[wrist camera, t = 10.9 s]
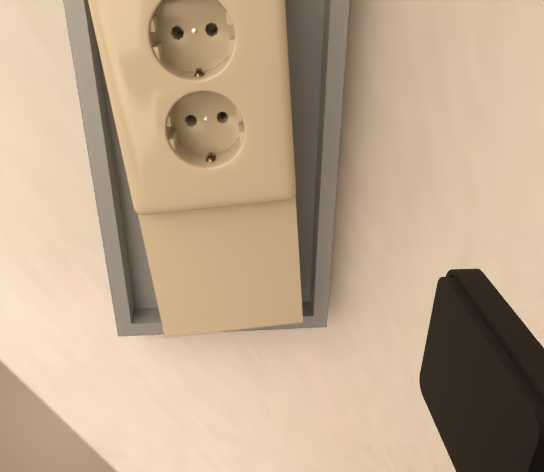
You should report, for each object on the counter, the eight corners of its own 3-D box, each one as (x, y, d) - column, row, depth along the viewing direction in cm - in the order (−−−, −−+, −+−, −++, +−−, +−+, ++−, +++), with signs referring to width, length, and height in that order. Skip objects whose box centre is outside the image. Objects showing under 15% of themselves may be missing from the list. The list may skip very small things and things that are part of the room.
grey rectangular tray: (51, -167, 20) (33, -181, 18) (348, -159, 21) (361, -172, 19) (124, 312, 31) (118, 336, 29) (320, 304, 31) (326, 326, 29)
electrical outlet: (163, 349, 26) (70, -66, 17) (170, 302, 30) (96, -62, 21) (305, 333, 26) (281, -84, 18) (295, 288, 30) (271, -76, 21)
